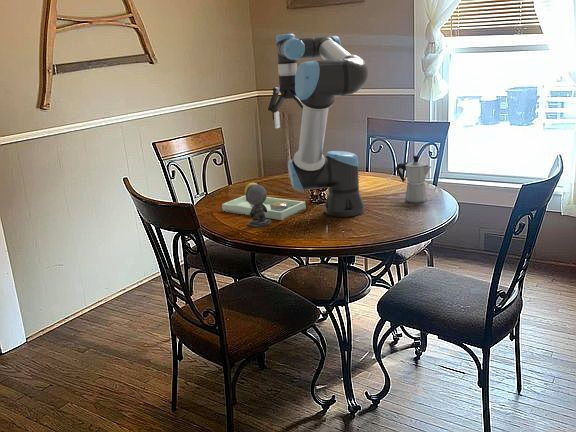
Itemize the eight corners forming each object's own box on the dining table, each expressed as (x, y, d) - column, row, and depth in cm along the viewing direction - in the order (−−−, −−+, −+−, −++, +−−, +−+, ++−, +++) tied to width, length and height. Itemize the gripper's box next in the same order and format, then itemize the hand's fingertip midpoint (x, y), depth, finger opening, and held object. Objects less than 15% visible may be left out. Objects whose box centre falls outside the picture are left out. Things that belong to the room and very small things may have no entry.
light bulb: (243, 208, 234) (242, 184, 231) (247, 204, 240) (246, 180, 238) (259, 209, 233) (258, 184, 230) (263, 204, 239) (262, 181, 236)
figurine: (257, 218, 223) (254, 180, 219) (277, 222, 217) (274, 183, 213) (241, 225, 217) (238, 185, 213) (261, 228, 211) (258, 188, 207)
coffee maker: (435, 198, 234) (435, 154, 229) (427, 204, 227) (427, 158, 222) (400, 195, 242) (400, 152, 237) (391, 200, 235) (391, 156, 230)
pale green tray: (305, 209, 232) (305, 201, 231) (282, 220, 219) (281, 212, 219) (247, 201, 249) (246, 194, 248) (222, 211, 237) (221, 204, 236)
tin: (291, 209, 230) (291, 202, 229) (281, 213, 225) (281, 207, 224) (277, 207, 234) (277, 200, 233) (267, 211, 229) (266, 205, 228)
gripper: (320, 72, 227) (322, 127, 233) (267, 75, 240) (271, 126, 246) (310, 74, 221) (313, 130, 227) (257, 76, 234) (261, 129, 240)
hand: (291, 128), depth 237 cm, fingers open, 13 cm apart
